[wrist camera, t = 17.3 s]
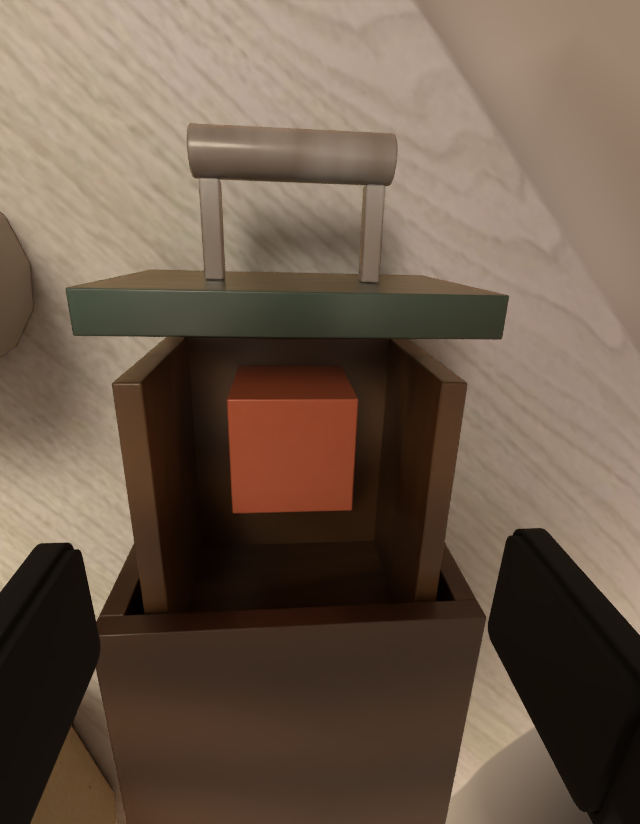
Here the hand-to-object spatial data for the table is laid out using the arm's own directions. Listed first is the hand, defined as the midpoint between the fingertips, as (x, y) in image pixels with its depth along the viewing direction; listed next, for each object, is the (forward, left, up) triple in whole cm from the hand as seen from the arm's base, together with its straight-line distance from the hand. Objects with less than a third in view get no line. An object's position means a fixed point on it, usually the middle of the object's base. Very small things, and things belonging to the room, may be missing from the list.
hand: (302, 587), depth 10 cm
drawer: (-1, -1, -12) cm, 12 cm away
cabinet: (+9, +8, -13) cm, 17 cm away
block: (0, 0, -11) cm, 11 cm away
